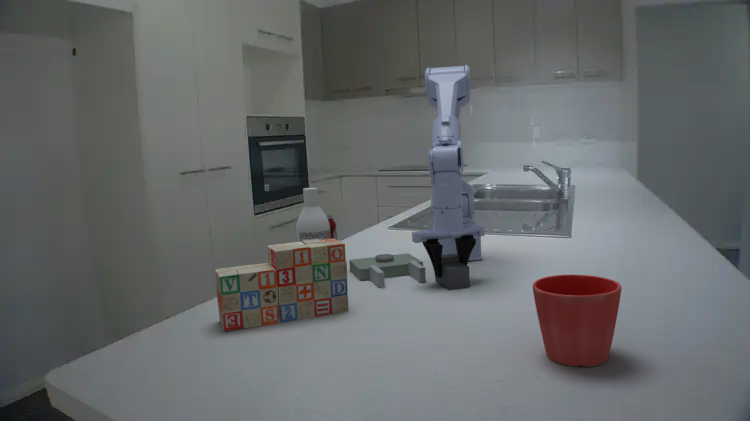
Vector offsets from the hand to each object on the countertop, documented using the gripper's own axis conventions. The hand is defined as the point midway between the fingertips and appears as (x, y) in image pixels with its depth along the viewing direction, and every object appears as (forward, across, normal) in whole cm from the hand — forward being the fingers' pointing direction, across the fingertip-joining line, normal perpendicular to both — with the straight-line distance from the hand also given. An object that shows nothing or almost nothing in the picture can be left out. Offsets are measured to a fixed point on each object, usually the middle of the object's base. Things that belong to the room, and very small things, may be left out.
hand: (450, 274), depth 112 cm
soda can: (+2, -21, +25) cm, 33 cm away
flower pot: (+2, +1, -40) cm, 40 cm away
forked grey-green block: (+2, -9, +12) cm, 15 cm away
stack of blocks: (+2, -34, -7) cm, 34 cm away
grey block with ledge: (+2, 0, -1) cm, 2 cm away
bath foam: (+2, -25, +11) cm, 27 cm away
